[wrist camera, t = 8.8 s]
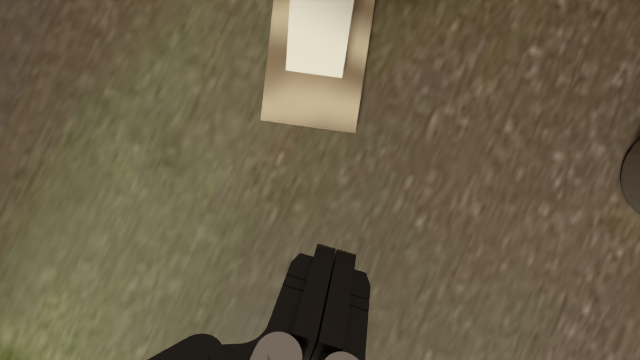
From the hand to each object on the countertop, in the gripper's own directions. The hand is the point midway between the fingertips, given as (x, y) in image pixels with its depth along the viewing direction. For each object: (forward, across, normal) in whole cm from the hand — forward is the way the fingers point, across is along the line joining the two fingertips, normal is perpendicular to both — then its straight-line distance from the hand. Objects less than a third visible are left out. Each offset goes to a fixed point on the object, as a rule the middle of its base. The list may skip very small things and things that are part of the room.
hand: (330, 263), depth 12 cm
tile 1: (+20, +5, -1) cm, 20 cm away
